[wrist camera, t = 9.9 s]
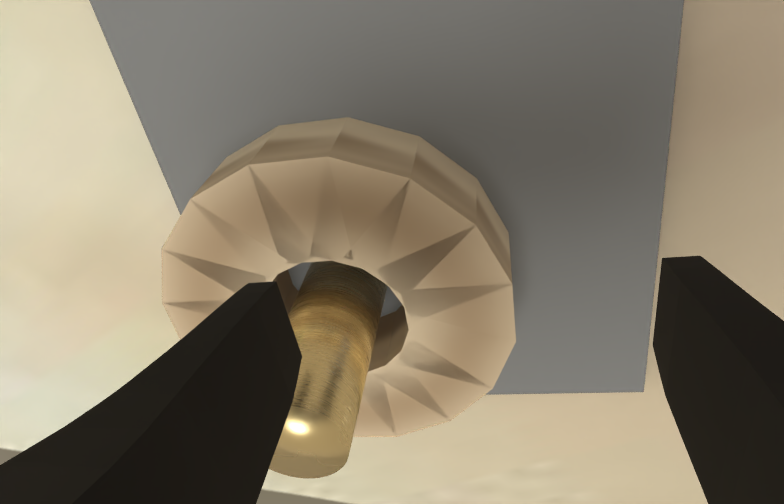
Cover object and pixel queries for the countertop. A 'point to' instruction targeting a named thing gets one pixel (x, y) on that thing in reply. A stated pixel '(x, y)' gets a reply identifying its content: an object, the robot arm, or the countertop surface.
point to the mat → (452, 134)
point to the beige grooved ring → (360, 256)
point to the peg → (329, 367)
